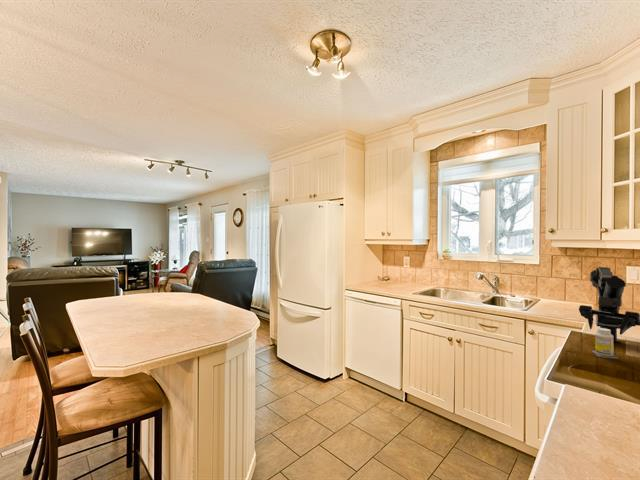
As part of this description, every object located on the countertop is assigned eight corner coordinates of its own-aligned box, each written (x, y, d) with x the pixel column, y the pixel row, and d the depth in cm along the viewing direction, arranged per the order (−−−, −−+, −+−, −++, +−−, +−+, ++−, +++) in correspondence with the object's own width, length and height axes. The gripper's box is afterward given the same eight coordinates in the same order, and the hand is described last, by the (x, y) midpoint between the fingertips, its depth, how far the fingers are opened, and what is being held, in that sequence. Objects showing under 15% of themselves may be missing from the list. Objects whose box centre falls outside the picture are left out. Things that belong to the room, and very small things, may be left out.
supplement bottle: (603, 351, 126) (603, 326, 126) (617, 356, 120) (617, 330, 120) (591, 351, 125) (591, 327, 125) (605, 356, 120) (605, 331, 120)
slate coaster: (591, 351, 127) (591, 350, 127) (610, 353, 124) (610, 352, 124) (598, 356, 121) (598, 355, 121) (617, 359, 119) (617, 358, 119)
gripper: (579, 287, 135) (572, 315, 129) (639, 292, 120) (634, 325, 114) (585, 301, 140) (578, 330, 133) (643, 309, 124) (638, 341, 118)
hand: (605, 331), depth 125 cm, fingers open, 9 cm apart
